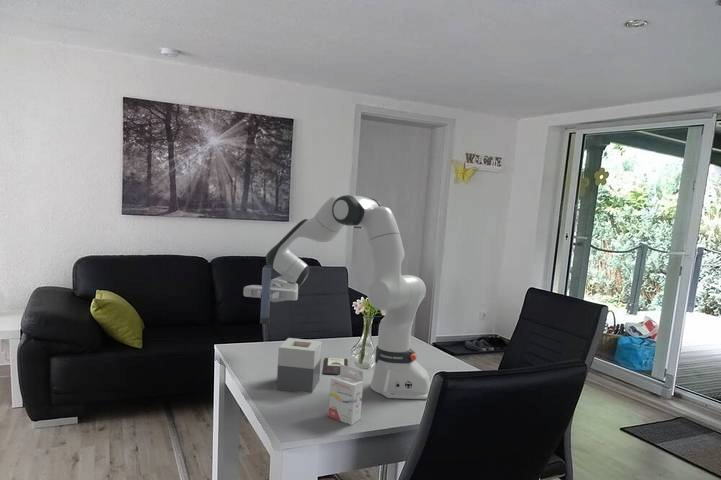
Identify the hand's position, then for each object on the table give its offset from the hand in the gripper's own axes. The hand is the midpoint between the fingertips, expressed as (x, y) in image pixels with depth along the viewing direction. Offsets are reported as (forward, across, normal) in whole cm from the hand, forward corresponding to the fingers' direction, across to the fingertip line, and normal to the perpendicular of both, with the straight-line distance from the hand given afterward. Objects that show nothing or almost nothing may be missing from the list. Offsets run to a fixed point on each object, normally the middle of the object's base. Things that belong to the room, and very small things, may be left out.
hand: (265, 296), depth 175 cm
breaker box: (+9, +16, +28) cm, 33 cm away
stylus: (-1, 0, +10) cm, 10 cm away
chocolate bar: (-13, +25, +28) cm, 40 cm away
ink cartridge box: (+31, +35, +28) cm, 55 cm away
